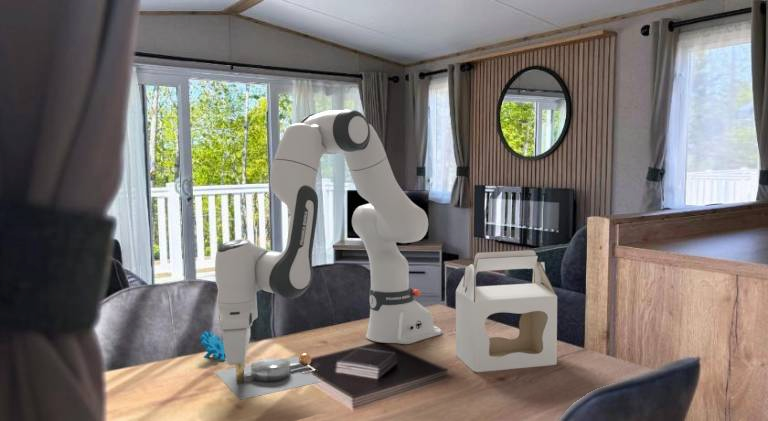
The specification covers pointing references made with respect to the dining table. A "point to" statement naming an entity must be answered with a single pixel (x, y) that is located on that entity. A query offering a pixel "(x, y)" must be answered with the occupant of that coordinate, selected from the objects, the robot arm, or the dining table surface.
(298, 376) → the grey square plate
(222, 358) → the gear
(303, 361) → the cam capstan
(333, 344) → the dining table surface
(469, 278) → the gable box
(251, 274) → the robot arm
